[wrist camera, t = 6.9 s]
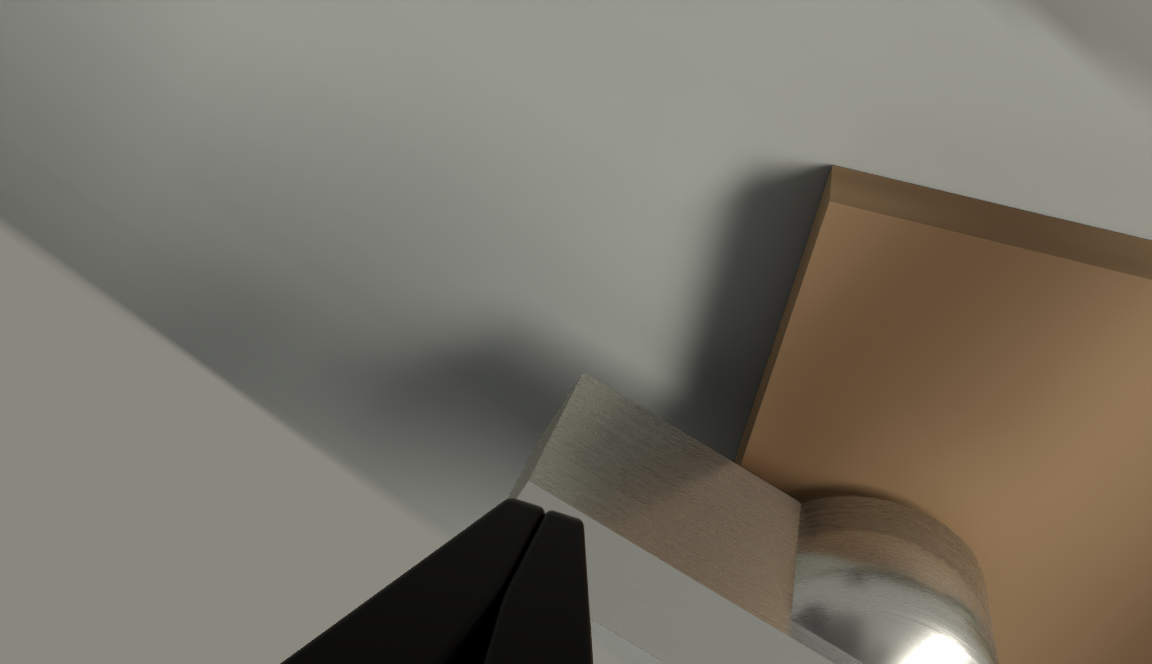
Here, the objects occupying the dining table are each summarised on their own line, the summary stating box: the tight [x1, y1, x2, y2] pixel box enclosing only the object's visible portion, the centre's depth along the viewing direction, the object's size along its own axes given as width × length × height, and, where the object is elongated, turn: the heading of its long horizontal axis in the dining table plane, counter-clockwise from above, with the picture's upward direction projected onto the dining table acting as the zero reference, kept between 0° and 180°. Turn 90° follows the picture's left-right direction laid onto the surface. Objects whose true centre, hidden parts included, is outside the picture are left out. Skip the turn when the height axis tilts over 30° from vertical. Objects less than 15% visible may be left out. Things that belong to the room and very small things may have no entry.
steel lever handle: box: [508, 372, 999, 664], centre depth 13 cm, size 8×4×3 cm, turn 63°
